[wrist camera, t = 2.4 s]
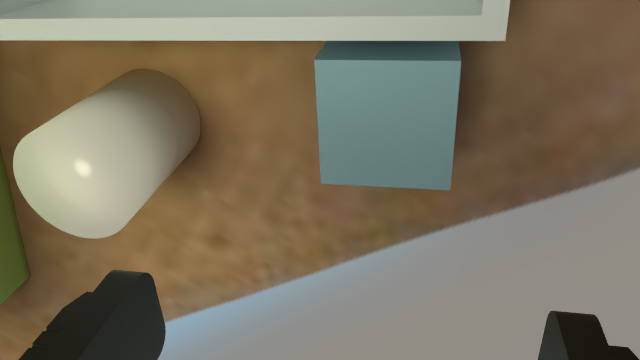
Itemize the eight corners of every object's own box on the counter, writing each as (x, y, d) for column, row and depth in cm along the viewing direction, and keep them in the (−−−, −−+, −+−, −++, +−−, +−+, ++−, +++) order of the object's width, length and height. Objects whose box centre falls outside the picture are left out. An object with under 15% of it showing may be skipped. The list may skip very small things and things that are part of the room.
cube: (456, 25, 22) (461, 60, 18) (447, 135, 24) (450, 190, 20) (336, 25, 23) (314, 59, 18) (340, 131, 25) (321, 183, 21)
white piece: (191, 69, 25) (115, 130, 19) (208, 163, 27) (144, 242, 21) (96, 68, 26) (-6, 125, 20) (120, 158, 28) (36, 233, 22)
